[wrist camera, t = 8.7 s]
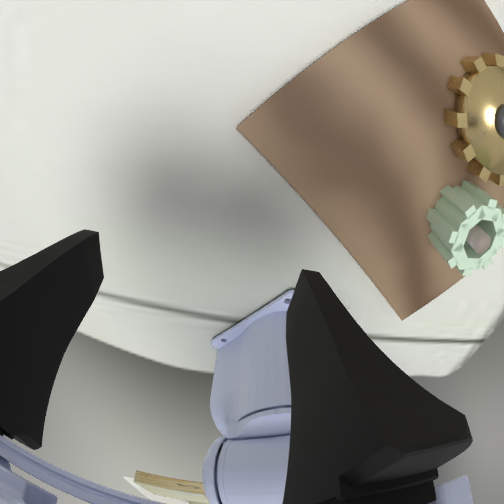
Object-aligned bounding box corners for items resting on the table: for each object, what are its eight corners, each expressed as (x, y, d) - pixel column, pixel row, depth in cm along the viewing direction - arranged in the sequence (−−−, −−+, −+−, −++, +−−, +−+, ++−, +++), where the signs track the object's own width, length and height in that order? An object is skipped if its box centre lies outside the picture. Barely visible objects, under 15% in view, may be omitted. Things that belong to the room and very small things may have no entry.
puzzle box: (135, 468, 64) (155, 484, 77) (132, 481, 60) (153, 494, 73) (257, 485, 63) (254, 496, 76) (256, 498, 59) (254, 507, 72)
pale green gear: (441, 263, 19) (459, 289, 16) (413, 211, 17) (435, 236, 14) (491, 221, 17) (513, 243, 14) (470, 164, 15) (498, 182, 12)
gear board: (398, 312, 23) (415, 352, 19) (237, 125, 16) (228, 140, 12) (547, 188, 15) (578, 210, 12) (457, -25, 8) (495, -37, 4)
